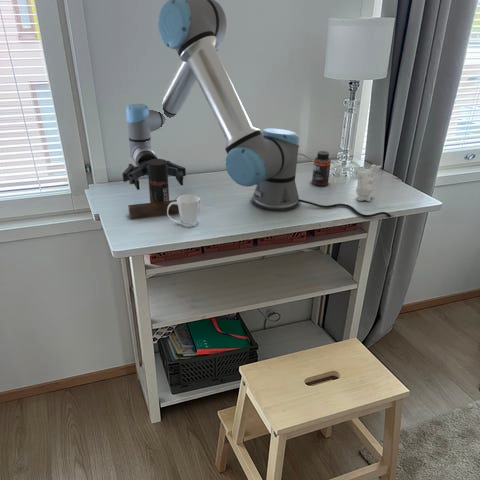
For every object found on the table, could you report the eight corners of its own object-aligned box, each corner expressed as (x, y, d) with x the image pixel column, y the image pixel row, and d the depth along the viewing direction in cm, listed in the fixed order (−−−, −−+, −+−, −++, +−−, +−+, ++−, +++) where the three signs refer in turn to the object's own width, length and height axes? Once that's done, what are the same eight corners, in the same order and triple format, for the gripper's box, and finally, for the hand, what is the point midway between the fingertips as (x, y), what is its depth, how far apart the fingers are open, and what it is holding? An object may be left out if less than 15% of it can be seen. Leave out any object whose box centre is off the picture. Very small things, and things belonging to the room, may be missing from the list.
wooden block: (194, 208, 157) (194, 197, 155) (196, 211, 155) (196, 200, 153) (129, 216, 151) (128, 205, 149) (130, 219, 149) (129, 208, 147)
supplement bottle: (327, 181, 181) (331, 150, 174) (328, 187, 176) (332, 155, 169) (311, 180, 181) (315, 149, 175) (311, 185, 176) (315, 154, 170)
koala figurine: (371, 195, 171) (378, 161, 164) (378, 203, 166) (386, 168, 158) (348, 196, 170) (354, 161, 163) (355, 203, 164) (361, 168, 157)
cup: (202, 228, 145) (201, 202, 141) (168, 230, 144) (166, 204, 139) (199, 218, 151) (199, 193, 146) (167, 219, 149) (165, 194, 145)
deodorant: (164, 213, 153) (161, 166, 144) (147, 210, 155) (143, 163, 146) (172, 206, 158) (170, 160, 149) (156, 203, 159) (153, 157, 150)
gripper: (182, 168, 171) (199, 190, 155) (110, 175, 164) (120, 199, 148) (181, 147, 167) (199, 167, 151) (107, 153, 159) (117, 174, 143)
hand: (160, 183), depth 149 cm, fingers open, 13 cm apart
